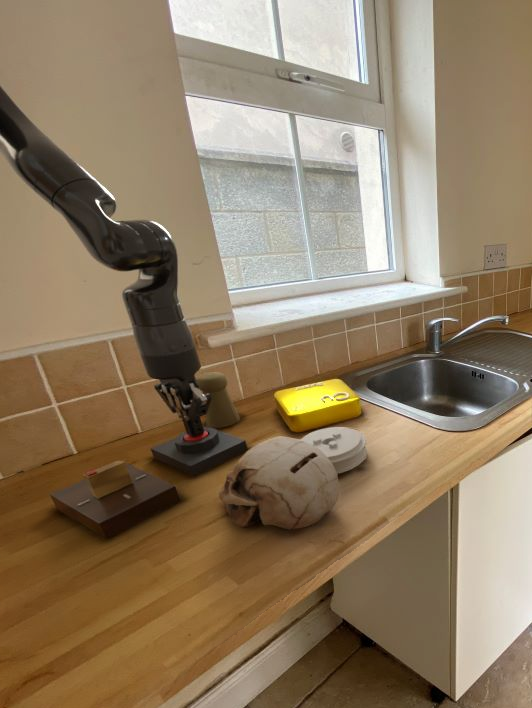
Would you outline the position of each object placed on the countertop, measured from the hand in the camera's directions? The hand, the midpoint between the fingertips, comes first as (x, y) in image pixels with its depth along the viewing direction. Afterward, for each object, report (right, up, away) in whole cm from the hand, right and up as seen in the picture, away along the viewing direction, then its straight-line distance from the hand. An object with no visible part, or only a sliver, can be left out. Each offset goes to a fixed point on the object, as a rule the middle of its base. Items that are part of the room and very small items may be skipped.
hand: (196, 434), depth 83 cm
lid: (+25, -5, +2) cm, 25 cm away
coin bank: (+23, -11, -11) cm, 28 cm away
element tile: (+14, +4, +19) cm, 24 cm away
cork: (-4, +2, +13) cm, 14 cm away
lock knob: (-3, -8, -14) cm, 16 cm away
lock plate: (-3, -10, -12) cm, 16 cm away
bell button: (0, -2, +1) cm, 2 cm away
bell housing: (0, -4, +2) cm, 4 cm away
